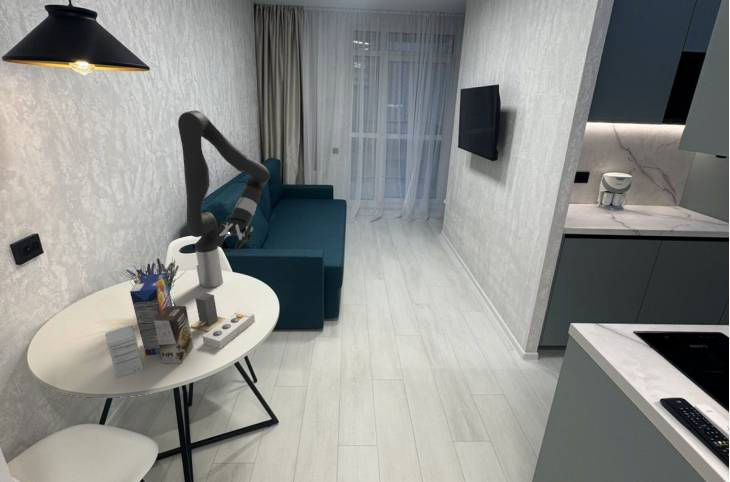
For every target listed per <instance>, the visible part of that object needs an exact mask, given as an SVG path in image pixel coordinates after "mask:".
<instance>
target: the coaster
mask: <svg viewBox="0 0 730 482" xmlns="http://www.w3.org/2000/svg"><path fill="white" fill-rule="evenodd" d="M217 318H218V321H217V322H215V323H214V324H212V325H211V326H210V327H208V326H205V325H202V326H201V324H199V325H198V324H197V323H199V322H200V321H199V320H198V321H196V322H194V323H192V325H190V328H194V329H196V330H200V331H204V332H206V333H208V332H209V331H210V330H212V329H213V328H214V327H216V326H217V325H219V324H220V323H221V322H223V321H224V320H225V319H227V318H225V317H222V316H218V315H217Z"/></svg>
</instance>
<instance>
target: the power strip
mask: <svg viewBox="0 0 730 482" xmlns="http://www.w3.org/2000/svg"><path fill="white" fill-rule="evenodd" d="M255 321H256V320H255V313H253V312H249V311H245V310H241V309H240V310H239V309H237V310H236V311H234V312H233V313H232V314H231V315H230V316H229V317H227V318H226V319H225V320H224V321H223V322H221V323H220V324H219V325H217V326H216V327H214V328H213V329H212V330H210V331H209V332H206V333H205V334H203V335H202V342H203V344H204V345H206V346H207V345H208V346H210V347H214V348H218V349H222V348H224V347H225V346H226V345H227V344H228V343H230V342H231V341H232V340H233V339H234V338H236V337H237V336H238V335H239V334H241V333H242V332H243V331H245V330H246V329H247V328H248V327H249V326H251V325H252V324H253V323H254V322H255Z"/></svg>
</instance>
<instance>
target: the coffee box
mask: <svg viewBox="0 0 730 482" xmlns="http://www.w3.org/2000/svg"><path fill="white" fill-rule="evenodd" d="M154 324H155V328H156V333H157V338H158V342H159V347H160V351H161V354H160V355H161V361H162V363H163V364H178V365H179V364H182V363H183V362H184V361H185V359H186V358H187V357H188V356H189V354H190V352H191V351H192V350H193V349H194V342H193V336H192V331H191V325H190V320H189V316H188V310H187V306H186V305H172V306H167V308H166V309H165V310H164V311H163V312H162V313H161V314H160V315H159V316H158V317H157V318H156V319H155V320H154Z"/></svg>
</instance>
